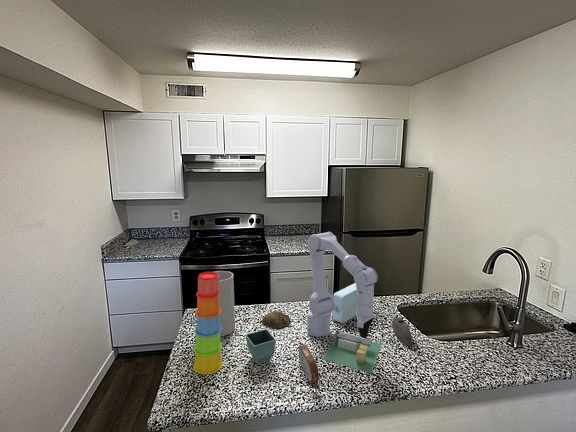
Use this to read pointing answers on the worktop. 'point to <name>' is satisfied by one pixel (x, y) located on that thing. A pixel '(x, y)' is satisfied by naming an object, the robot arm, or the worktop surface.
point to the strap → (354, 339)
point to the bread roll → (276, 320)
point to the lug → (362, 355)
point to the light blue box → (345, 304)
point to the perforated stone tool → (402, 331)
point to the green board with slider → (351, 353)
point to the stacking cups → (208, 325)
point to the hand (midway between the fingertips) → (363, 336)
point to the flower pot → (261, 345)
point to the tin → (308, 363)
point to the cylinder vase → (226, 302)
